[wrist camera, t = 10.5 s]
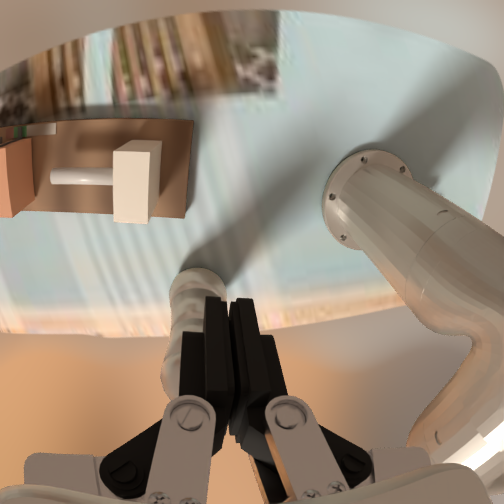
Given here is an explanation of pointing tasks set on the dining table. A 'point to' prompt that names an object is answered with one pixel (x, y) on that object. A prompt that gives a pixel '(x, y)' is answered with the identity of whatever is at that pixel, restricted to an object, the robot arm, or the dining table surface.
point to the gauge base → (103, 160)
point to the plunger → (124, 179)
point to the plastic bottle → (187, 317)
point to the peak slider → (16, 176)
